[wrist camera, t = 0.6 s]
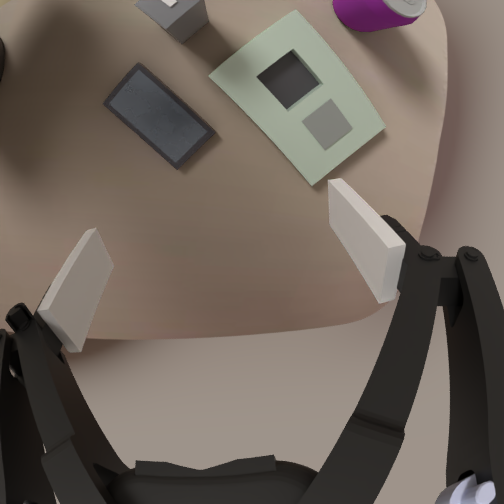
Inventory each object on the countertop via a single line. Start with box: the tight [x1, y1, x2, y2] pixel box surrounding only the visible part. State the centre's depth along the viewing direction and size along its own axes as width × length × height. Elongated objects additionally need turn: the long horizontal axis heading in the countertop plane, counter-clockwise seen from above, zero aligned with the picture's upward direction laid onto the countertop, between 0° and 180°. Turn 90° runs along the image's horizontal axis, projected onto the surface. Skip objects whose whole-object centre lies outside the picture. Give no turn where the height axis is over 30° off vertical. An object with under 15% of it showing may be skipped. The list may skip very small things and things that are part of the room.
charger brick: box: [135, 0, 209, 44], centre depth 21 cm, size 4×4×11 cm
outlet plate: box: [208, 9, 386, 186], centre depth 32 cm, size 20×14×2 cm
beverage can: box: [333, 0, 426, 32], centre depth 21 cm, size 8×8×12 cm
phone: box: [103, 63, 215, 170], centre depth 32 cm, size 14×7×1 cm, turn 42°
